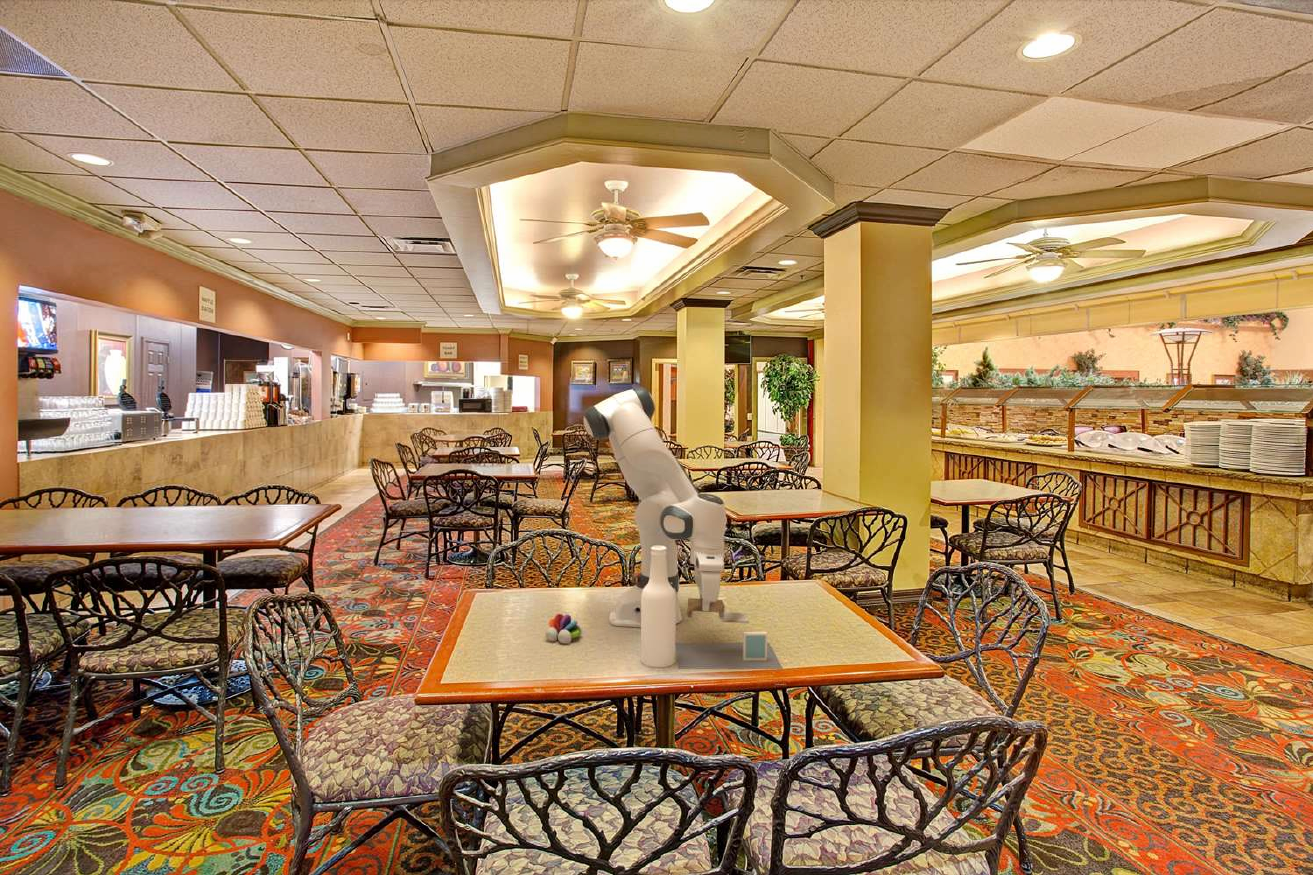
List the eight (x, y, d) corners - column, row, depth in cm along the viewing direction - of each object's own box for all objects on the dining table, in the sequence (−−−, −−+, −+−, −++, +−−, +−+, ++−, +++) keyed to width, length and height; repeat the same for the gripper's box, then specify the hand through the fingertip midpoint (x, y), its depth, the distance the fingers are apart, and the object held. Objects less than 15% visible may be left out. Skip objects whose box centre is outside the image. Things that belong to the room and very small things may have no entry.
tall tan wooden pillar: (688, 620, 170) (690, 603, 170) (686, 612, 176) (687, 595, 176) (748, 623, 171) (750, 606, 171) (744, 615, 177) (745, 599, 177)
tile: (743, 660, 168) (744, 633, 168) (742, 658, 170) (743, 631, 170) (766, 660, 169) (767, 633, 168) (765, 658, 170) (766, 631, 170)
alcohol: (668, 654, 173) (669, 542, 172) (680, 667, 165) (681, 549, 164) (636, 658, 171) (637, 544, 169) (646, 671, 162) (647, 551, 161)
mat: (678, 670, 163) (678, 668, 163) (675, 644, 181) (675, 642, 181) (782, 670, 163) (782, 668, 163) (769, 644, 181) (769, 642, 181)
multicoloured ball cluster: (558, 632, 191) (558, 607, 190) (586, 637, 187) (586, 612, 186) (540, 641, 183) (540, 615, 183) (569, 647, 179) (570, 621, 179)
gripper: (690, 546, 183) (688, 595, 184) (700, 566, 162) (697, 620, 163) (713, 547, 183) (710, 595, 184) (725, 566, 163) (722, 621, 164)
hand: (704, 607), depth 173 cm, fingers closed on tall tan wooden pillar, 2 cm apart
